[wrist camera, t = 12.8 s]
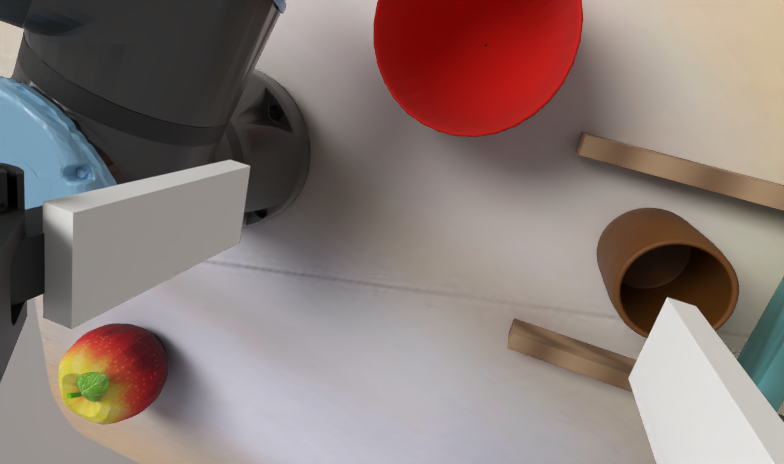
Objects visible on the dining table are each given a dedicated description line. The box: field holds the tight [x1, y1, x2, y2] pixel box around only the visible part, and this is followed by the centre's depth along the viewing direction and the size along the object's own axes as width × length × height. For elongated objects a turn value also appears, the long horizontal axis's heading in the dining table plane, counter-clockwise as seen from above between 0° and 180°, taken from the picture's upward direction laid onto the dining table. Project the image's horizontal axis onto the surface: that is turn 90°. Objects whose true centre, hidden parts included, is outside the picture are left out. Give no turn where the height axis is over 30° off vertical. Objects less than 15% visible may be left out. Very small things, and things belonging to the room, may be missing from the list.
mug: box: [597, 208, 739, 338], centre depth 36 cm, size 12×8×9 cm, turn 14°
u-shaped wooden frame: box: [508, 132, 784, 412], centre depth 39 cm, size 20×19×4 cm
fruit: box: [58, 324, 168, 425], centre depth 54 cm, size 11×11×10 cm
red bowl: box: [374, 0, 583, 137], centre depth 34 cm, size 13×17×10 cm
